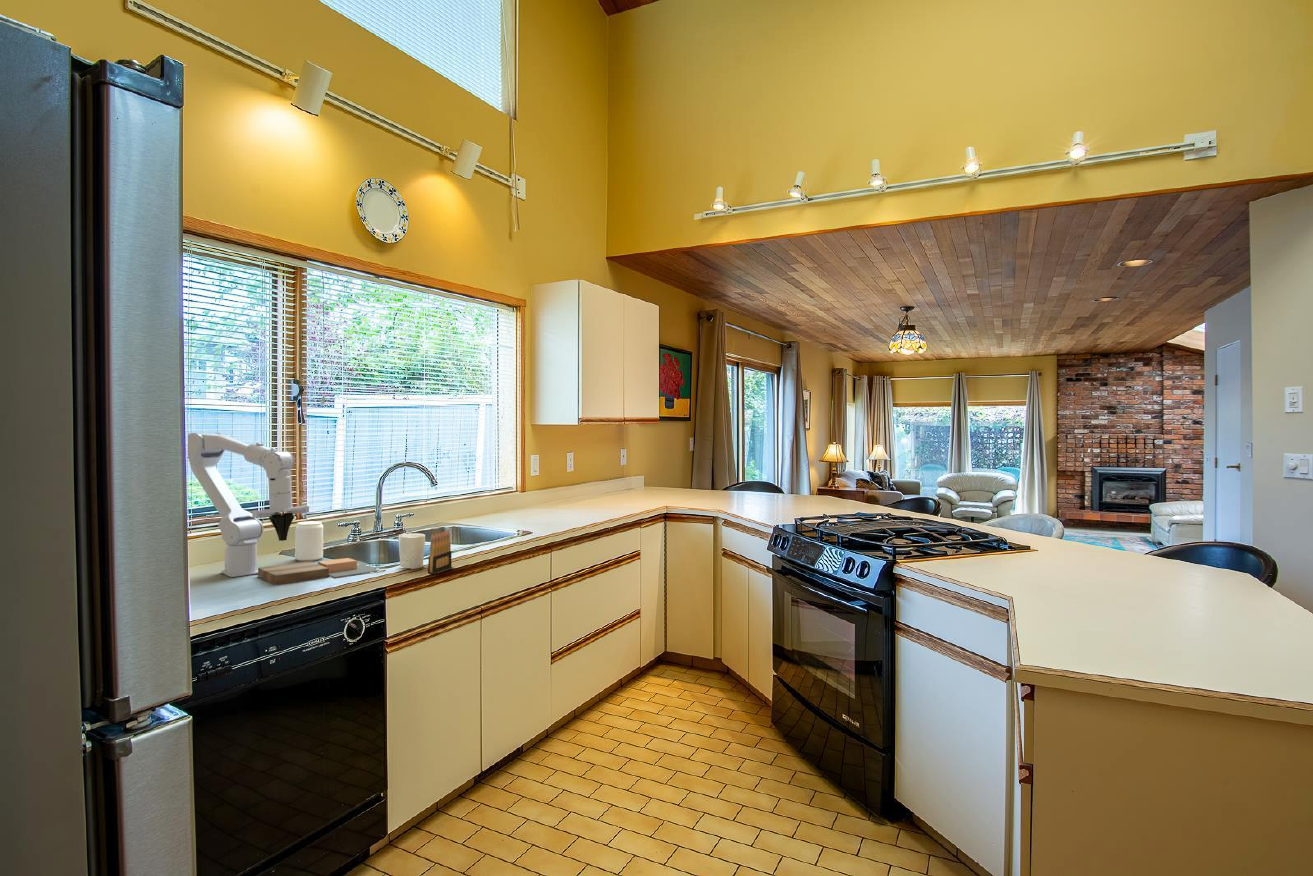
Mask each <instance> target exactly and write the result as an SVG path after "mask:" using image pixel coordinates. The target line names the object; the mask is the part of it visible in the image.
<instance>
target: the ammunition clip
mask: <svg viewBox="0 0 1313 876" xmlns="http://www.w3.org/2000/svg"><path fill="white" fill-rule="evenodd" d="M451 544H452V543H451V533H450V529H447V530H446V529H445V530H444V531H438V533H437V532H435V534H434V533H432V534H431V536H430V547H429V555H428V566H427V573H428V574H433V575H434V574H437V573H439V572H442V571H445V570H447V569H450V568H452V567H453V566H452V550H451V548H452V547H451Z"/></svg>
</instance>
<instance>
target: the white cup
mask: <svg viewBox="0 0 1313 876" xmlns="http://www.w3.org/2000/svg"><path fill="white" fill-rule="evenodd" d="M425 545H426V534H424V533H415V532H414V533H403V534H399V535H398V553H399V567H400V566H401V567H403V568H411V569H410V570H415V569H420V568H423V566H424V558H425ZM403 568H402V569H403Z"/></svg>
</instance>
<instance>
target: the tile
mask: <svg viewBox="0 0 1313 876" xmlns="http://www.w3.org/2000/svg"><path fill="white" fill-rule="evenodd" d="M357 561H358V560H355V559H353V558H351V557H350V558H349V557H345V558H337V559H329V560H322V561H321V560H320V561H318V562H317V564H318V565H321V566H324V567H327V568H329V572H336V571H343V570H350V569H357Z"/></svg>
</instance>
